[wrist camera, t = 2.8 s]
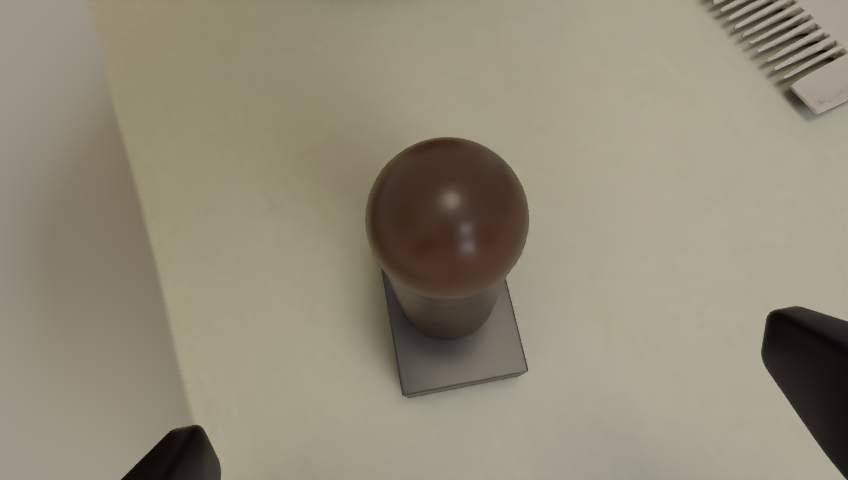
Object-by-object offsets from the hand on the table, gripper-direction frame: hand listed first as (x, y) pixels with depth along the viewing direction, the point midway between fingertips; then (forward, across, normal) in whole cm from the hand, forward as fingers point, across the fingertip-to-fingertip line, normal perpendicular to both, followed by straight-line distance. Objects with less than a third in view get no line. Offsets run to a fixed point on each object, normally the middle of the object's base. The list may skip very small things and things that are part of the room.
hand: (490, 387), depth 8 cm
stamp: (+10, 0, +5) cm, 11 cm away
